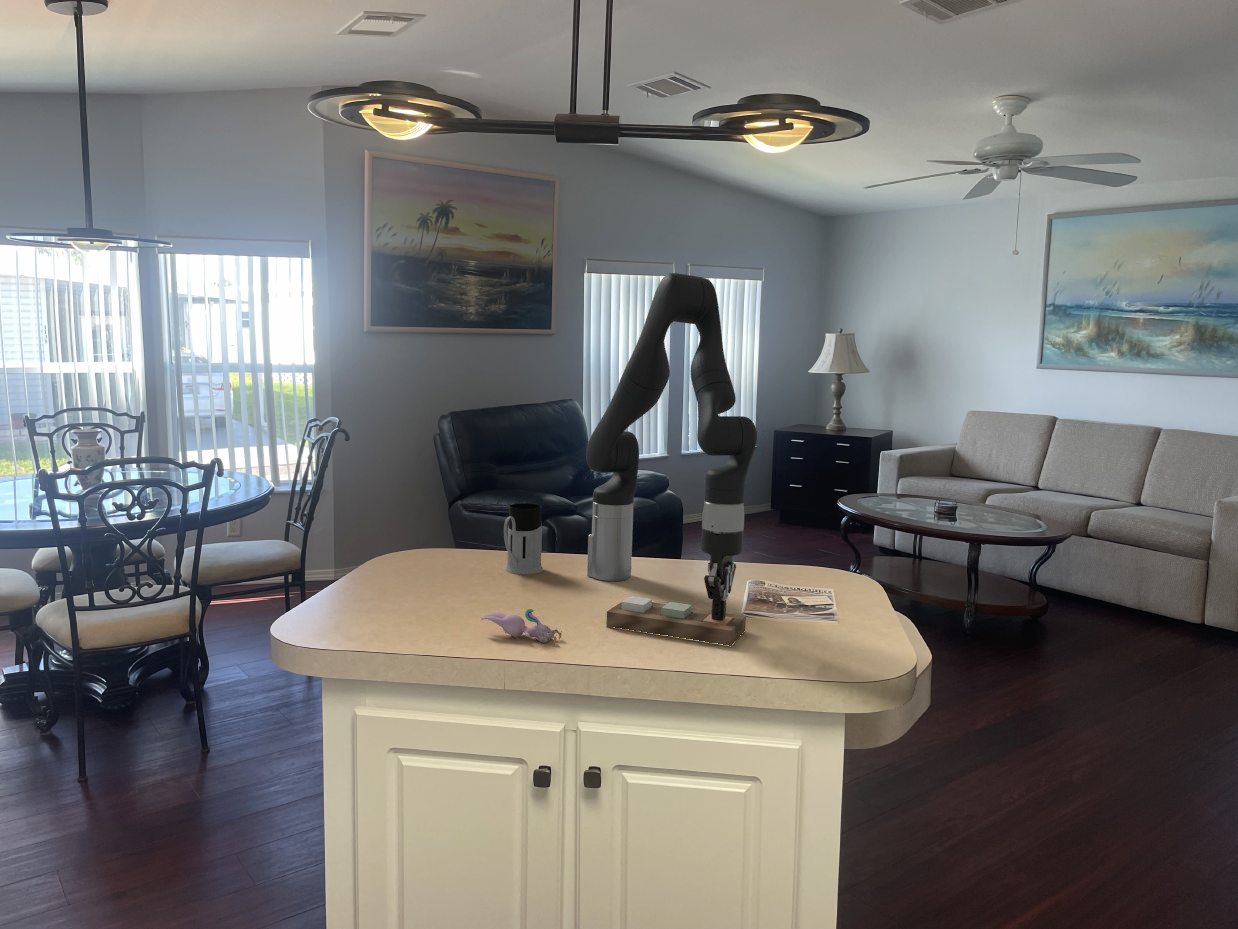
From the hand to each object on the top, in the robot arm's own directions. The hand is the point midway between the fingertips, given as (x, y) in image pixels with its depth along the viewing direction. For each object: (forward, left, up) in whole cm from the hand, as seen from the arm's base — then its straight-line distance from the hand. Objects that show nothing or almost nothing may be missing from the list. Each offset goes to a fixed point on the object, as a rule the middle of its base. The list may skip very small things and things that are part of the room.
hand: (718, 619), depth 164 cm
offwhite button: (-16, 0, -1) cm, 16 cm away
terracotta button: (0, 0, -3) cm, 3 cm away
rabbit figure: (-31, -18, -4) cm, 36 cm away
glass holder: (-54, +23, -3) cm, 59 cm away
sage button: (-8, 0, -1) cm, 8 cm away
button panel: (-8, 0, -3) cm, 9 cm away
